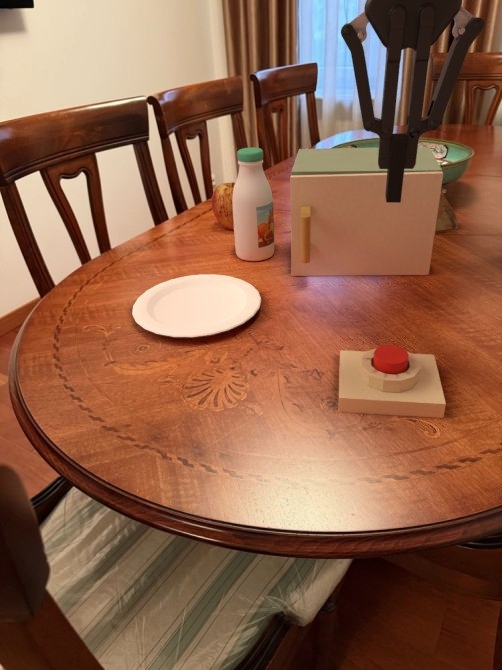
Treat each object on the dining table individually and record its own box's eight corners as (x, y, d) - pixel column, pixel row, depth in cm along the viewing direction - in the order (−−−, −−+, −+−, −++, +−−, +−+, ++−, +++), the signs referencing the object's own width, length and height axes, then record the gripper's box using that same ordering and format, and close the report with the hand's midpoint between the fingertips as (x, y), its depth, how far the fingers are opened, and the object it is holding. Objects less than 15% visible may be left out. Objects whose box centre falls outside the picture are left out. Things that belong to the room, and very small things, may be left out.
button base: (431, 368, 68) (436, 342, 66) (443, 418, 60) (448, 391, 58) (339, 363, 70) (340, 338, 68) (338, 412, 62) (339, 385, 60)
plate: (259, 278, 93) (259, 270, 92) (264, 341, 76) (263, 331, 75) (144, 285, 94) (142, 276, 93) (122, 349, 76) (120, 339, 75)
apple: (226, 217, 122) (222, 174, 116) (261, 221, 118) (259, 177, 113) (207, 231, 115) (202, 186, 109) (243, 236, 111) (240, 189, 106)
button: (405, 357, 64) (407, 345, 64) (408, 376, 61) (410, 364, 60) (372, 355, 65) (373, 343, 64) (373, 374, 62) (374, 362, 61)
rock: (464, 213, 109) (417, 203, 112) (471, 189, 101) (420, 178, 104) (448, 257, 106) (400, 245, 110) (454, 235, 99) (402, 223, 102)
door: (435, 289, 86) (451, 182, 77) (290, 289, 89) (289, 186, 79) (427, 272, 92) (442, 171, 82) (291, 273, 94) (290, 175, 85)
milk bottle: (245, 265, 99) (238, 157, 88) (229, 251, 105) (221, 148, 94) (281, 256, 101) (279, 150, 90) (264, 243, 107) (260, 142, 96)
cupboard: (427, 272, 92) (442, 169, 82) (292, 270, 96) (291, 171, 86) (417, 238, 105) (429, 146, 96) (299, 237, 109) (298, 148, 99)
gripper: (491, -76, 46) (450, 188, 59) (343, -64, 48) (333, 188, 61) (513, -88, 40) (461, 210, 52) (341, -74, 42) (331, 209, 55)
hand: (392, 198), depth 57 cm, fingers closed
